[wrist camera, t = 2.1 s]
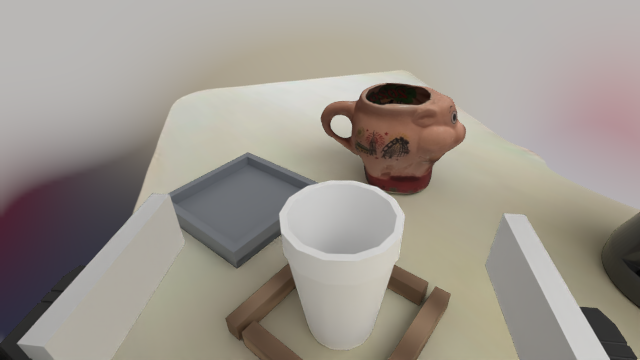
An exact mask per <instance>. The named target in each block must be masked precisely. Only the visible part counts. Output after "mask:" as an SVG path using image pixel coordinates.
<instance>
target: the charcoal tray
mask: <svg viewBox="0 0 640 360" xmlns="http://www.w3.org/2000/svg"><path fill="white" fill-rule="evenodd" d="M314 184H318V182H315V181H313V180H311V179H308V178H306V177H304V176H301V175H299V174H297V173H294V172H292V171H290V170H288V169H285V168H283V167H281V166H278V165H276V164H274V163H271V162H269V161H267V160H265V159H262V158H260V157H258V156H255V155H253V154H251V153H246V154H244V155H242V156H240V157H238V158H236V159H234V160H232V161H230V162H228V163H226V164H224V165H222V166H221V167H219V168H217V169H215V170H213V171H211V172H209V173H207V174H205V175H203V176H201V177H199V178H197V179H195V180H194V181H192V182H190V183H188V184H186V185H184V186H182V187H180V188H178V189H176V190H174V191H172V192H170V193H168V194H170V197H171V201H172V204H173V207H174V210H175V213H176V216H177V219H178V222H179V225H180V227H181V228H182V229H184V230H185V231H186V232H188V233H189V234H190V235H192V236H193V237H195V238H196V239H197V240H199V241H200V242H201V243H203V244H204V245H206V246H207V247H208V248H210V249H211V250H212V251H214V252H215V253H217V254H218V255H219V256H221V257H222V258H224V259H225V260H226V261H228V262H229V263H230V264H232V265H233V266H235V267H236V268H238V267H240V266H241V265H242V264H243V263H245V262H246V261H247V260H249V259H250V258H251V257H252V256H254V255H255V254H256V253H258V252H259V251H260V250H261V249H263V248H264V247H265V246H267V245H268V244H269V243H270V242H272V241H273V240H274V239H276V238H277V237H278V236H279V235H281V227H280V217H279V213H280V211H281V210H282V208H283V206H284V205H285V203H286V202H287V200H288V198H289V197H291V196H292V195H294V194H295V193H297V192H299V191H300V190H302V189H303V188H305V187H307V186H310V185H314Z"/></svg>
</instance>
